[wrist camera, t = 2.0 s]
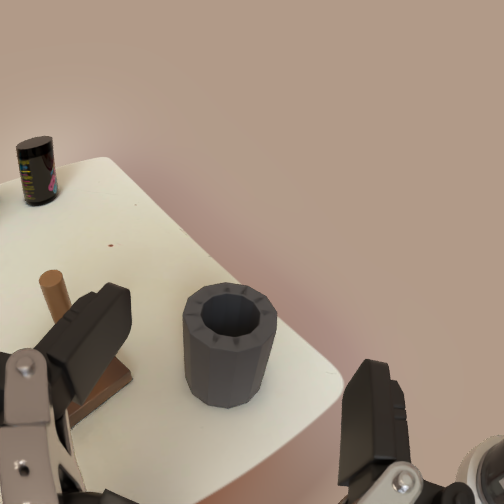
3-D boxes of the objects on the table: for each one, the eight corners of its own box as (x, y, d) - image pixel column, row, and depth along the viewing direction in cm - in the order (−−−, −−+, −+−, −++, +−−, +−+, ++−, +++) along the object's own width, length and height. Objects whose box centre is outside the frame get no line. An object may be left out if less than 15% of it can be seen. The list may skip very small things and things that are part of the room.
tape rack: (82, 328, 28) (56, 239, 22) (133, 379, 25) (110, 289, 19) (-10, 391, 19) (-66, 309, 13) (31, 458, 16) (-42, 389, 10)
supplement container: (50, 207, 45) (42, 147, 39) (19, 207, 44) (8, 150, 38) (64, 189, 51) (58, 134, 45) (34, 190, 50) (27, 137, 44)
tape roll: (262, 352, 29) (278, 289, 25) (257, 412, 24) (275, 357, 19) (194, 342, 29) (195, 277, 25) (179, 399, 24) (173, 340, 19)
